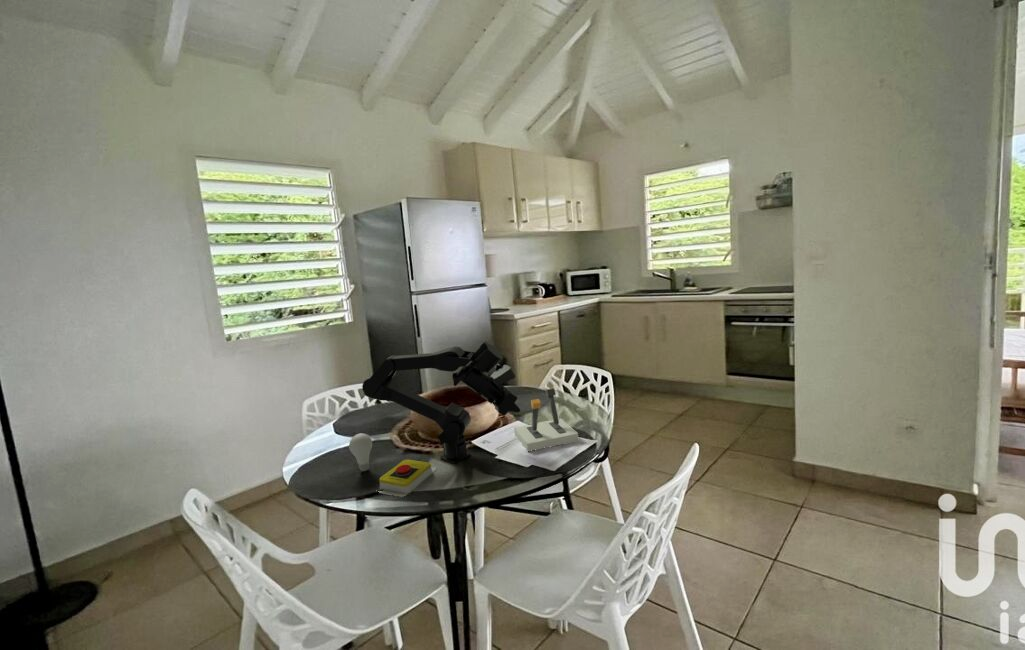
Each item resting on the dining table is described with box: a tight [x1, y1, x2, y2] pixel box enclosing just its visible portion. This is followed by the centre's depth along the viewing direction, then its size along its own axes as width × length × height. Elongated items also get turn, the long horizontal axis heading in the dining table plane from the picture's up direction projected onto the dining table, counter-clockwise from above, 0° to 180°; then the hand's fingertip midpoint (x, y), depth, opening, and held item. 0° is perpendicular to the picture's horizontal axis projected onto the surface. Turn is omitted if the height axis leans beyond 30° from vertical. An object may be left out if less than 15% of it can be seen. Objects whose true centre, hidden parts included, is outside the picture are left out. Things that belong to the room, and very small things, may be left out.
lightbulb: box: [348, 432, 373, 472], centre depth 121 cm, size 6×6×11 cm
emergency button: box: [378, 459, 437, 498], centre depth 115 cm, size 9×4×15 cm
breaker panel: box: [513, 388, 580, 452], centre depth 132 cm, size 16×13×14 cm
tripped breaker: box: [530, 398, 542, 431], centre depth 129 cm, size 2×2×11 cm
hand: (519, 411), depth 127 cm, fingers closed
